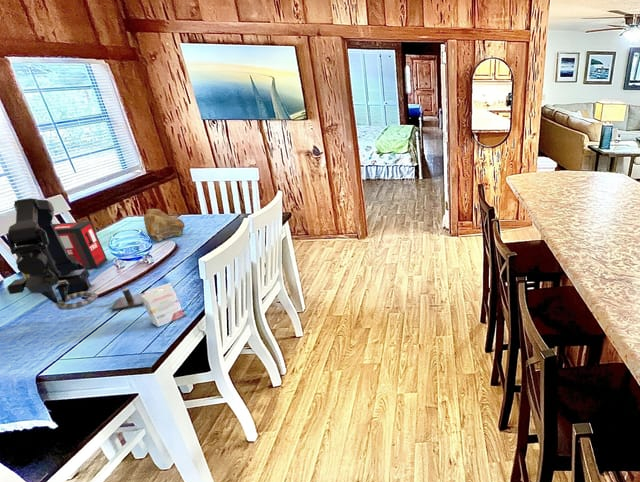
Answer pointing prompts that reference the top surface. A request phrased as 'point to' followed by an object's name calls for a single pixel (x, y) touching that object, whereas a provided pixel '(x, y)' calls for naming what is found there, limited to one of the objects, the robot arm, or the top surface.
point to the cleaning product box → (82, 243)
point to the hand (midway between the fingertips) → (60, 302)
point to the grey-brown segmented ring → (62, 305)
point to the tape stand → (128, 300)
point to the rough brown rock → (162, 225)
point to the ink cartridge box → (162, 305)
